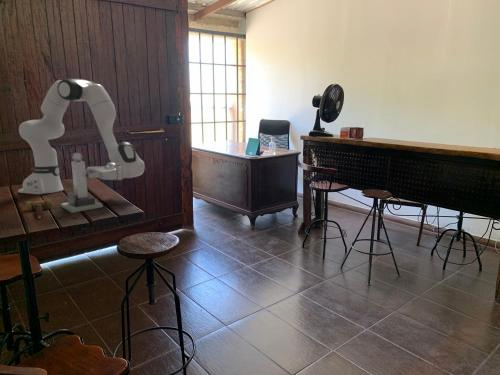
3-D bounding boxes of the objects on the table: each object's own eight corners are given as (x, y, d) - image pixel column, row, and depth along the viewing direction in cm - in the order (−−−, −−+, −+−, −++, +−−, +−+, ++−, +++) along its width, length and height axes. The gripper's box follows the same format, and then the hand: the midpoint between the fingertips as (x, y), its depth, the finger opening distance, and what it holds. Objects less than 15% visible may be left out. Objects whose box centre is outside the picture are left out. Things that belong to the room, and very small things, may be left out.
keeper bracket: (90, 201, 190) (89, 187, 189) (103, 207, 180) (101, 192, 179) (61, 206, 181) (59, 192, 179) (72, 212, 171) (70, 197, 169)
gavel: (52, 211, 162) (25, 214, 157) (53, 221, 163) (26, 225, 158) (50, 197, 179) (26, 200, 175) (52, 207, 181) (27, 209, 176)
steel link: (84, 202, 183) (80, 152, 178) (88, 203, 180) (83, 152, 175) (75, 203, 180) (70, 152, 175) (78, 205, 177) (73, 153, 172)
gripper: (103, 162, 195) (75, 165, 185) (122, 167, 180) (92, 170, 171) (104, 174, 196) (76, 178, 187) (123, 180, 182) (93, 184, 172)
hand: (84, 174), depth 179 cm, fingers open, 8 cm apart
